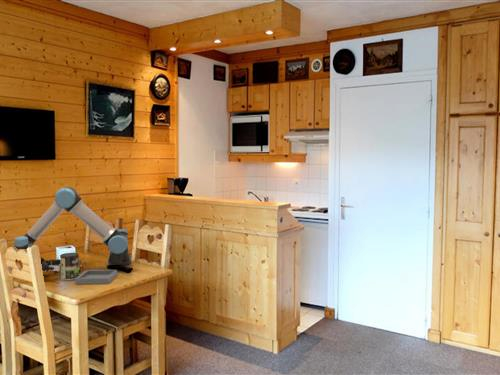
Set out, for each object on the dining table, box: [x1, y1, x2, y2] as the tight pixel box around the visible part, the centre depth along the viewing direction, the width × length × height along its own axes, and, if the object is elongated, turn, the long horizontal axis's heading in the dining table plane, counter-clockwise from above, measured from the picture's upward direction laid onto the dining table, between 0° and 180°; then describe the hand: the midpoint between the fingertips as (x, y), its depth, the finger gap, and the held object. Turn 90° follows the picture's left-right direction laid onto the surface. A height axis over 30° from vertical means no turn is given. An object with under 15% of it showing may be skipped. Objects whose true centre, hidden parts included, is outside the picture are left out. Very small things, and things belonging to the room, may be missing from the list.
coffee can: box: [59, 252, 80, 281], centre depth 268 cm, size 10×10×14 cm
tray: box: [74, 269, 118, 285], centre depth 265 cm, size 18×18×3 cm
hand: (66, 265), depth 268 cm, fingers open, 13 cm apart
